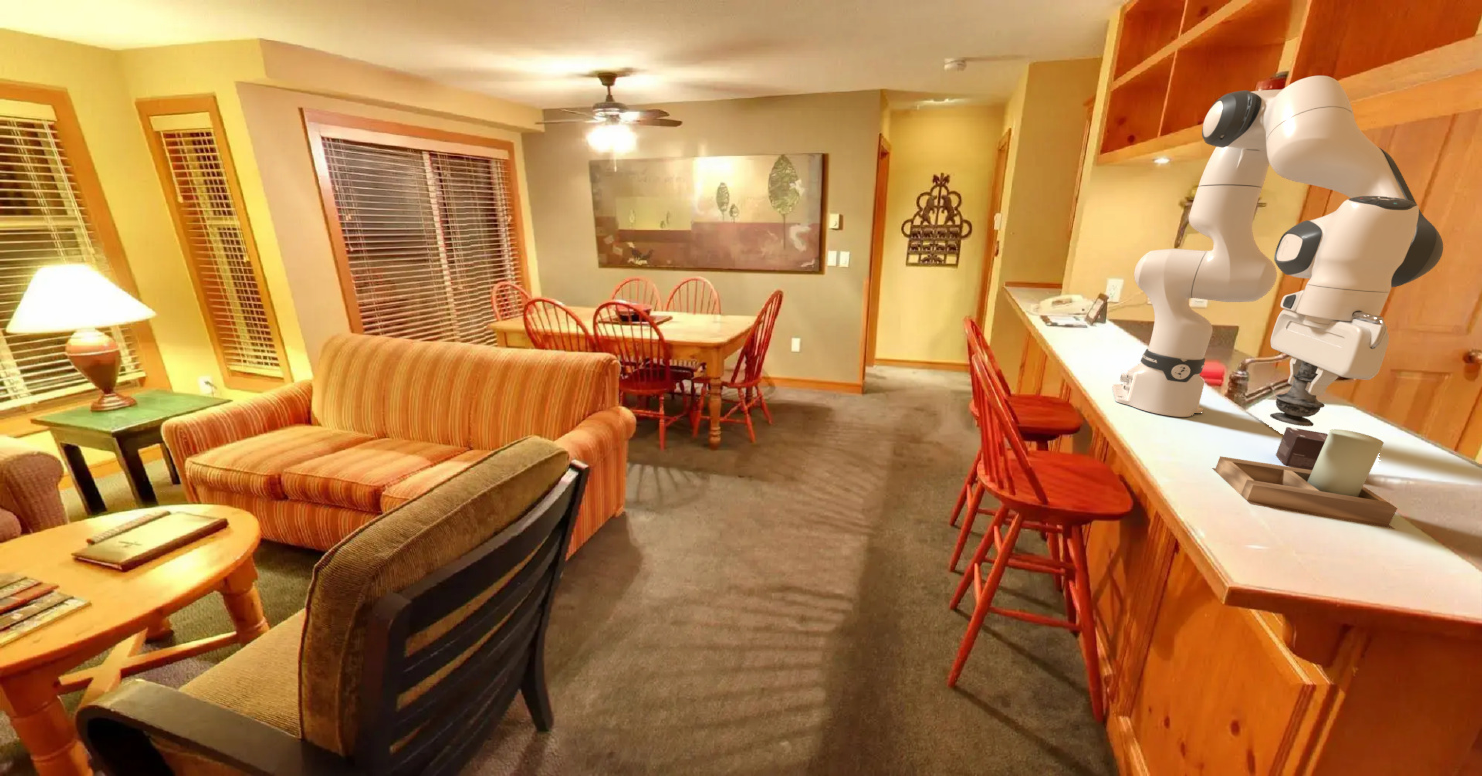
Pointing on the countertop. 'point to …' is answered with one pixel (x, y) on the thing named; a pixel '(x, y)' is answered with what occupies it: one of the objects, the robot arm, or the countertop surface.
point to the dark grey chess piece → (1298, 399)
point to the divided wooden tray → (1301, 493)
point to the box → (1300, 448)
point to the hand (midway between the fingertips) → (1304, 389)
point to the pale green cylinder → (1345, 462)
